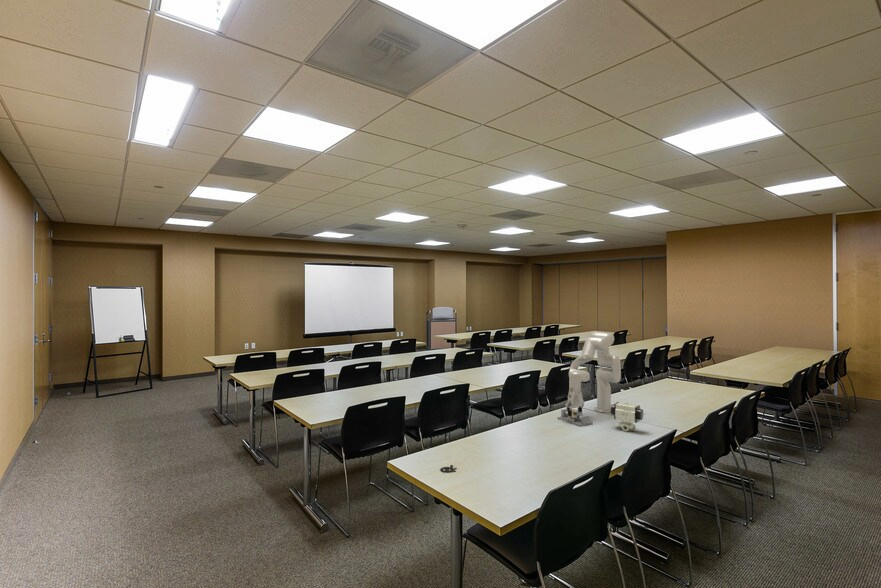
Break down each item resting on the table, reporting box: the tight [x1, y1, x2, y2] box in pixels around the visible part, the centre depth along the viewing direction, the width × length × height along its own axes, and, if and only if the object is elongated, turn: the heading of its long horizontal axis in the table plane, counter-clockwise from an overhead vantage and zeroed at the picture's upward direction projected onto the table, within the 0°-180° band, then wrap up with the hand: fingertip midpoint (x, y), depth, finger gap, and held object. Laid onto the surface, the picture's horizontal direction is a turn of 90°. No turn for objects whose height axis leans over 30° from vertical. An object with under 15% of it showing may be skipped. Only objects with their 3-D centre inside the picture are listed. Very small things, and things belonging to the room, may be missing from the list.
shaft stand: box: [557, 408, 594, 428], centre depth 287 cm, size 20×12×6 cm, turn 29°
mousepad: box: [439, 464, 457, 474], centre depth 206 cm, size 9×8×1 cm
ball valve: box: [610, 401, 644, 432], centre depth 269 cm, size 18×8×18 cm, turn 50°
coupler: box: [568, 408, 583, 422], centre depth 287 cm, size 8×5×6 cm, turn 29°
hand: (574, 415), depth 287 cm, fingers open, 9 cm apart
